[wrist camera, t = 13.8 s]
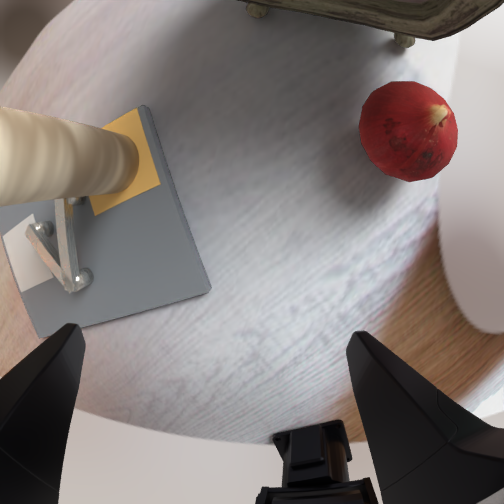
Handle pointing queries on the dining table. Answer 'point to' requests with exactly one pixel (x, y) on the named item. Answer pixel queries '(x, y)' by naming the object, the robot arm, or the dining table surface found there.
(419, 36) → the tabletop clock
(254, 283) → the dining table surface
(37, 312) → the board
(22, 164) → the peg
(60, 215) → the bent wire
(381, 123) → the onion
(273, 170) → the dining table surface
